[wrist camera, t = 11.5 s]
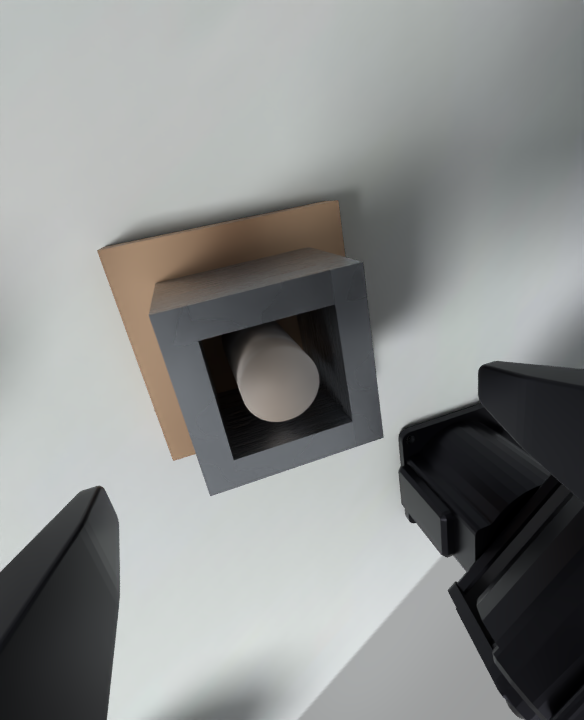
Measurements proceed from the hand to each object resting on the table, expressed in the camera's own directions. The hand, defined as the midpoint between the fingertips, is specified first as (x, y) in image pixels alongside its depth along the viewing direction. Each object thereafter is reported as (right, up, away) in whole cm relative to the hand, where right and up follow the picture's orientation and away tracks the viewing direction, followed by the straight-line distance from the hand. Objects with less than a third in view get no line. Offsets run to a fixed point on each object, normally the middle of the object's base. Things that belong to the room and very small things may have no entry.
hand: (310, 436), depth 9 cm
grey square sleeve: (-2, +3, +7) cm, 8 cm away
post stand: (-2, +3, +9) cm, 10 cm away
